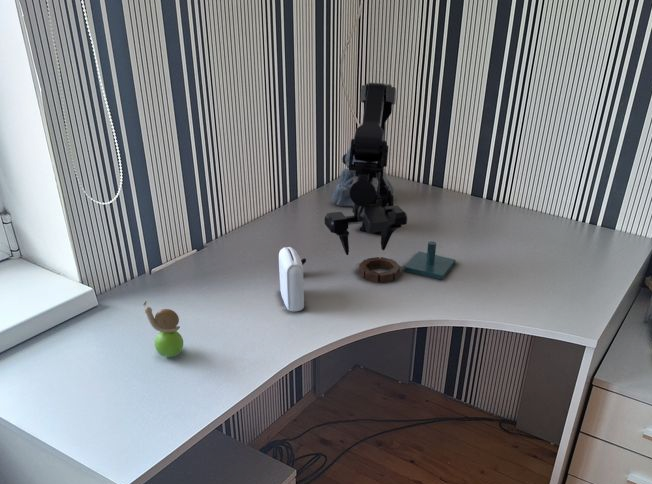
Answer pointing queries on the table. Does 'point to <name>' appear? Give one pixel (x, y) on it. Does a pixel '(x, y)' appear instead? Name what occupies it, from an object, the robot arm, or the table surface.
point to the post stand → (430, 263)
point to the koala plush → (346, 184)
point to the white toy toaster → (291, 279)
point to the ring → (378, 276)
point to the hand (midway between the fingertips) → (365, 252)
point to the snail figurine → (165, 331)
